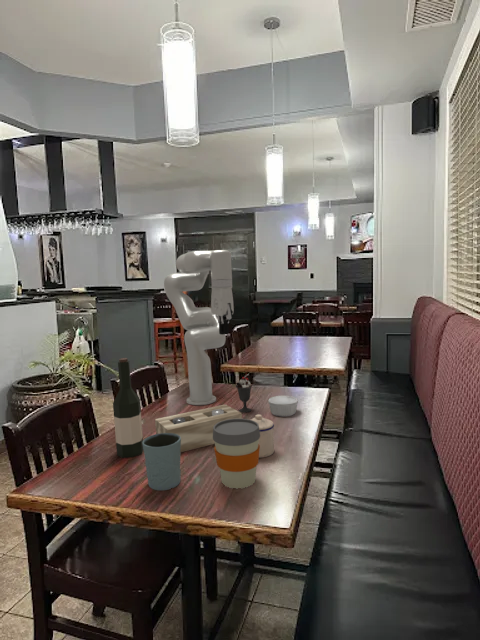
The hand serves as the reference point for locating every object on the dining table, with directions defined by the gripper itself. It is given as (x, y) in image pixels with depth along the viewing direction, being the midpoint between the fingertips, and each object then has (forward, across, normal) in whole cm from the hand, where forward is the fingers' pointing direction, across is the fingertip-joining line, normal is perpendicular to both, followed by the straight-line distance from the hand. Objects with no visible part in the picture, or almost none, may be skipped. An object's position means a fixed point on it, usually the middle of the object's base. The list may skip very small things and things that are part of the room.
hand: (224, 333), depth 165 cm
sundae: (+32, -3, +9) cm, 34 cm away
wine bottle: (+32, +11, -40) cm, 53 cm away
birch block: (+32, +14, -18) cm, 39 cm away
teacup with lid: (+32, +33, -8) cm, 47 cm away
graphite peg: (+32, +14, -25) cm, 43 cm away
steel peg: (+32, +14, -11) cm, 36 cm away
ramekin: (+32, +8, +20) cm, 39 cm away
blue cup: (+32, +36, -38) cm, 61 cm away
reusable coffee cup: (+32, +46, -21) cm, 60 cm away
